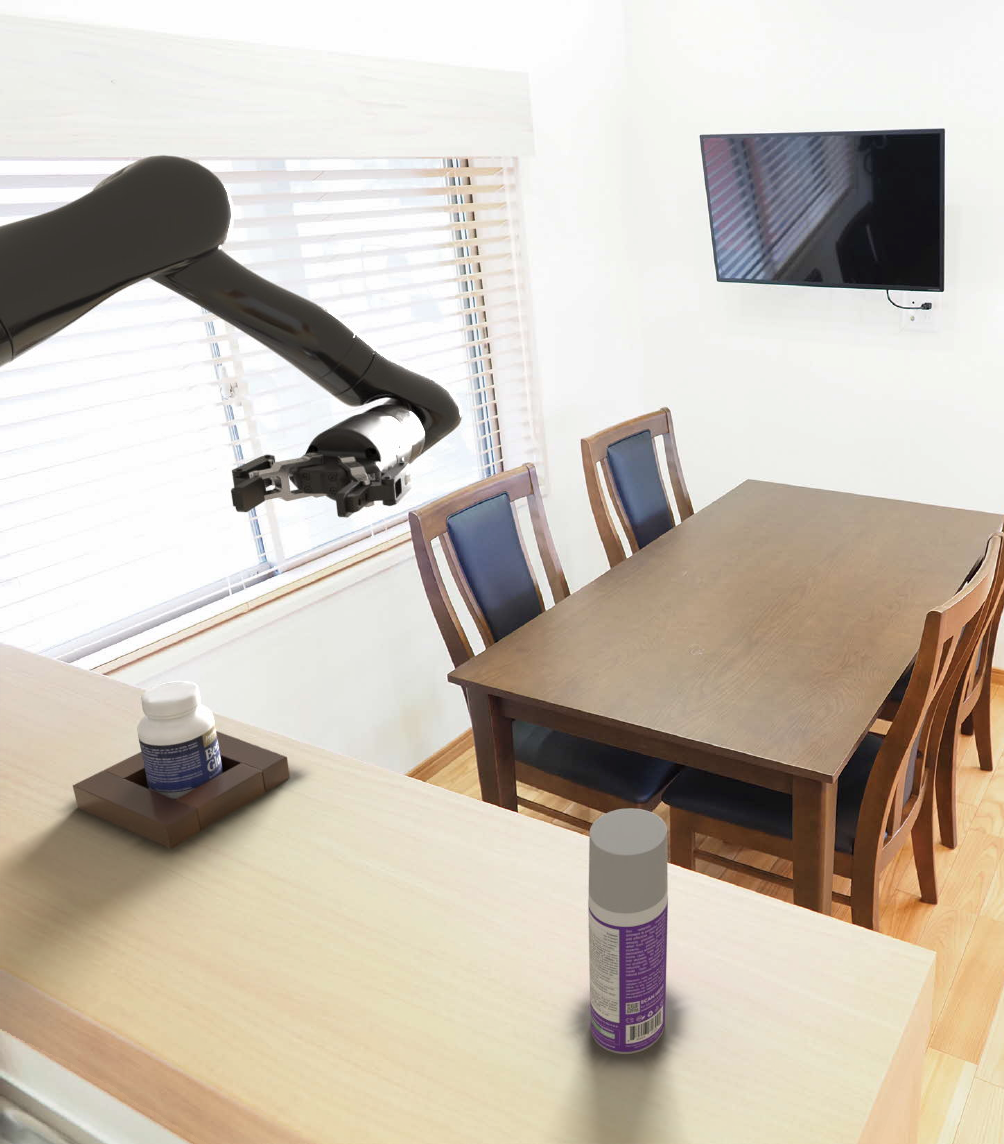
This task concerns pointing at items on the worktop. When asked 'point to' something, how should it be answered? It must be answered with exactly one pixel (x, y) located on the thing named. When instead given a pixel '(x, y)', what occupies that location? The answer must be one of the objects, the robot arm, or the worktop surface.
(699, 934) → the worktop surface
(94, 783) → the frame
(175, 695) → the pill bottle
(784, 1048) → the worktop surface
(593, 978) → the container
